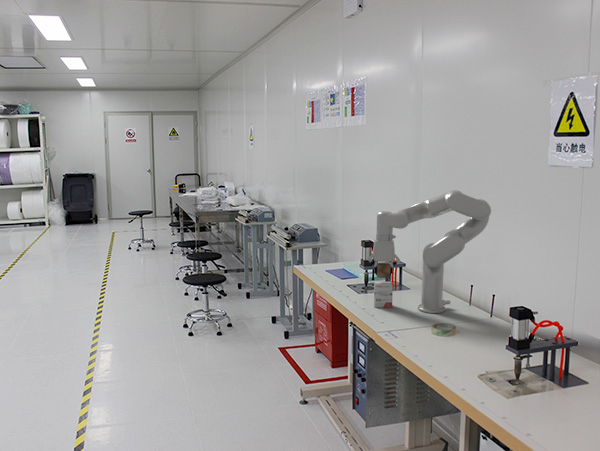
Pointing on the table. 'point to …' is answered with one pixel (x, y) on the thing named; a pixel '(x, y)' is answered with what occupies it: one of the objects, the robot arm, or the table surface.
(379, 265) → the walnut block
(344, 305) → the table surface
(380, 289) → the ink box
